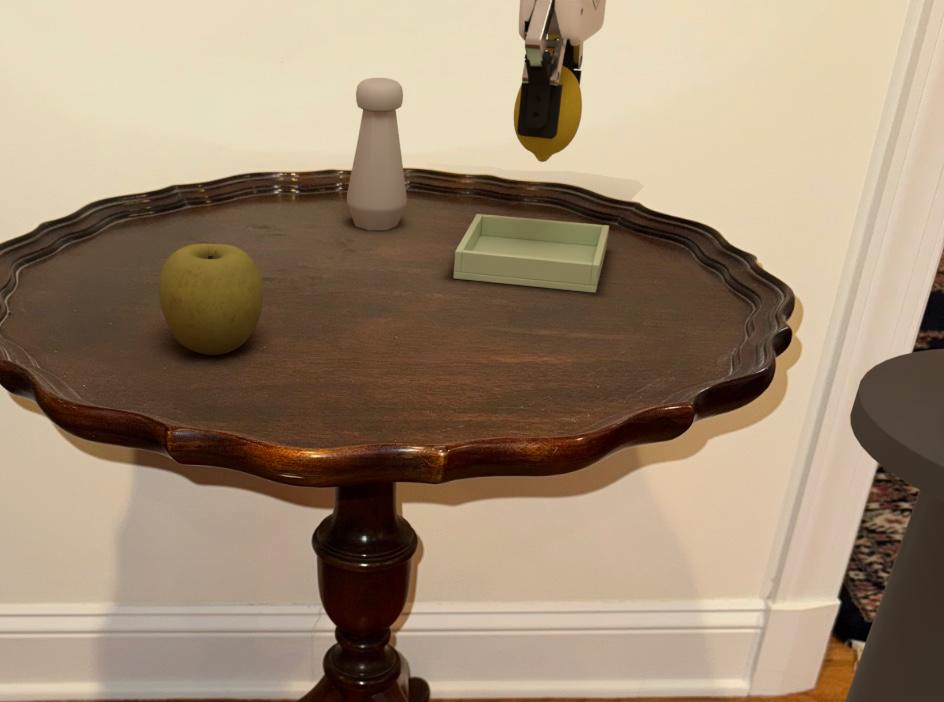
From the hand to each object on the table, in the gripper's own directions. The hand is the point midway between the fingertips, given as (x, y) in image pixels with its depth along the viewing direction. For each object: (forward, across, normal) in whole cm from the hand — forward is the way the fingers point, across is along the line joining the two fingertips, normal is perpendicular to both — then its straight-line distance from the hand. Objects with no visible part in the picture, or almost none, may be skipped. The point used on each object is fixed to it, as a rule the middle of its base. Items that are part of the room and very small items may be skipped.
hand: (546, 125), depth 94 cm
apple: (+12, -28, +17) cm, 35 cm away
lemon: (+3, 0, 0) cm, 3 cm away
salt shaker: (+12, +5, +17) cm, 21 cm away
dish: (+12, 0, 0) cm, 12 cm away
